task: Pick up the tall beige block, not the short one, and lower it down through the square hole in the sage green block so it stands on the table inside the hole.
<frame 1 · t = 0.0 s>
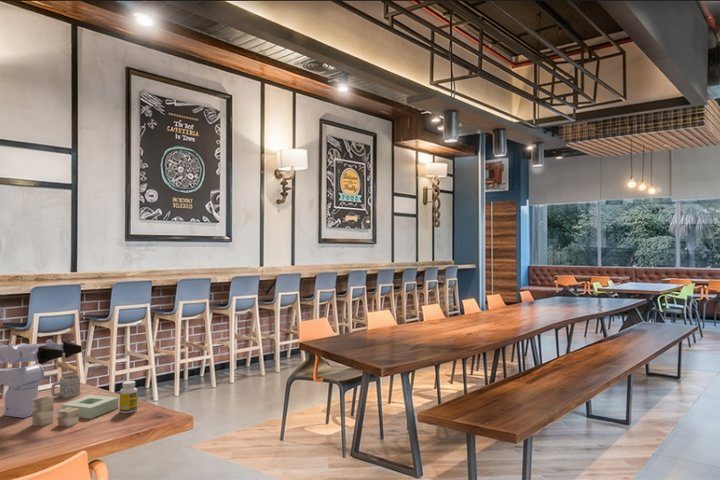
hand: (71, 351, 171), 22 cm above the table, tool horizontal, fingers open, 7 cm apart
tall beige block: (42, 423, 167), on the table
mug: (65, 396, 197), on the table
short pin: (68, 424, 167), on the table
hole block: (90, 411, 179), on the table
supplement bottle: (128, 411, 179), on the table
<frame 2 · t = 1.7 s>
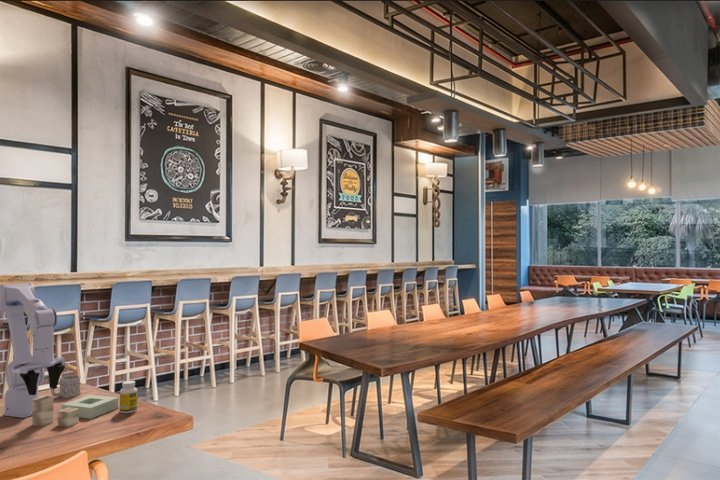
hand: (43, 391, 167), 10 cm above the table, tool pointing down, fingers open, 7 cm apart
nothing on the table moved.
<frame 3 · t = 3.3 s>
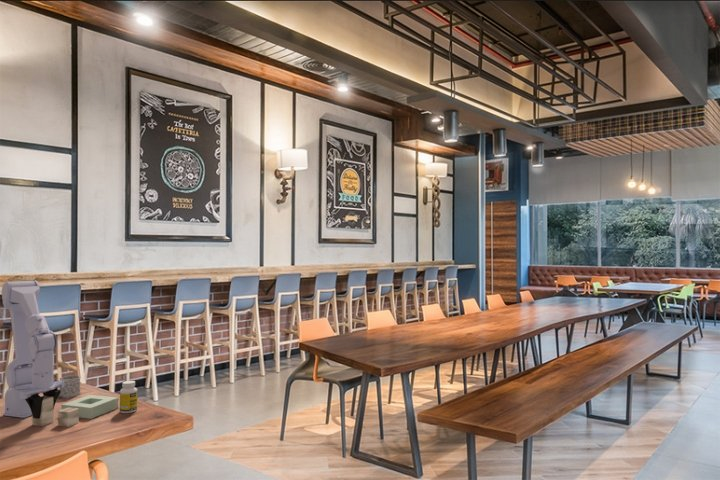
hand: (42, 415, 167), 2 cm above the table, tool pointing down, fingers closed on tall beige block, 4 cm apart
tall beige block: (42, 423, 167), on the table, touching gripper
everything else where it was.
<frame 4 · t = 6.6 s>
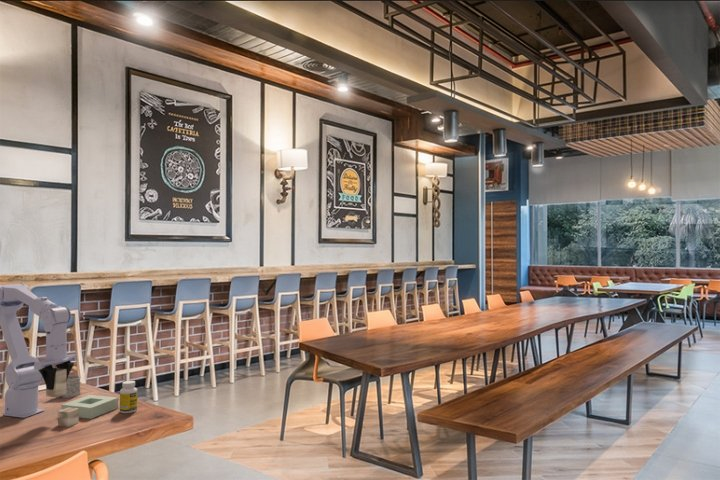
hand: (56, 387, 170), 10 cm above the table, tool pointing down, fingers closed on tall beige block, 4 cm apart
tall beige block: (56, 395, 170), point 8 cm above the table, touching gripper
everything else where it was.
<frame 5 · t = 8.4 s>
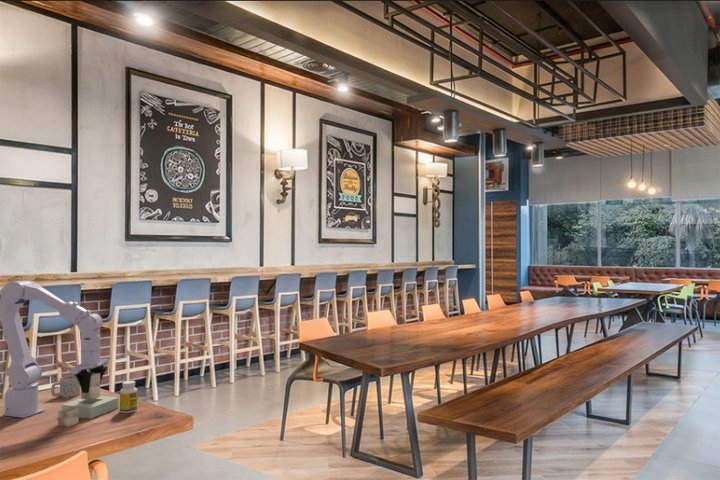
hand: (90, 390, 179), 7 cm above the table, tool pointing down, fingers closed on tall beige block, 4 cm apart
tall beige block: (90, 397, 179), point 5 cm above the table, touching gripper
everything else where it was.
when the fingers open (4 cm above the table, at t = 9.8 s): tall beige block drops 2 cm, resting in hole block.
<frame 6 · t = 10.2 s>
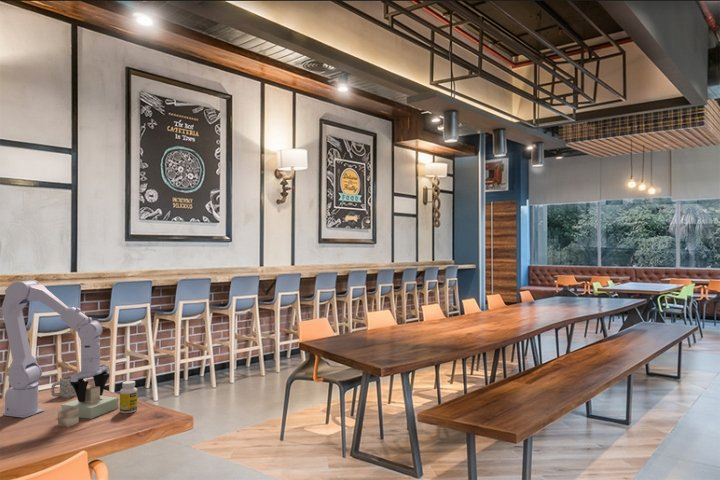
hand: (90, 398, 179), 4 cm above the table, tool pointing down, fingers open, 7 cm apart
tall beige block: (90, 411, 179), resting in hole block
everything else where it was.
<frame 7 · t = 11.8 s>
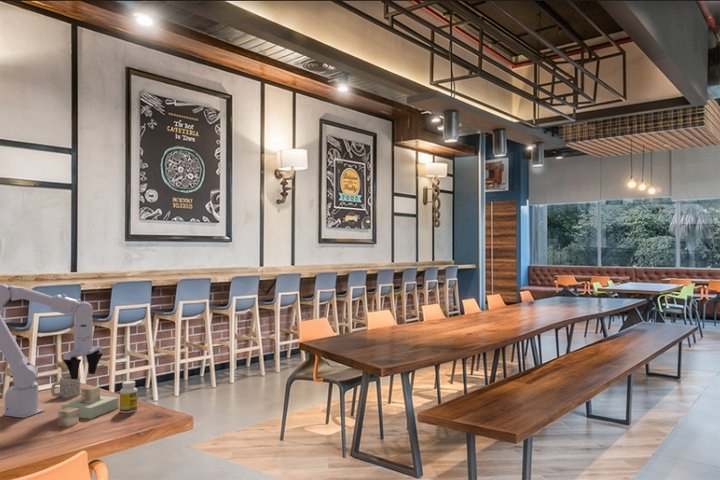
hand: (83, 376, 185), 10 cm above the table, tool pointing down, fingers open, 7 cm apart
nothing on the table moved.
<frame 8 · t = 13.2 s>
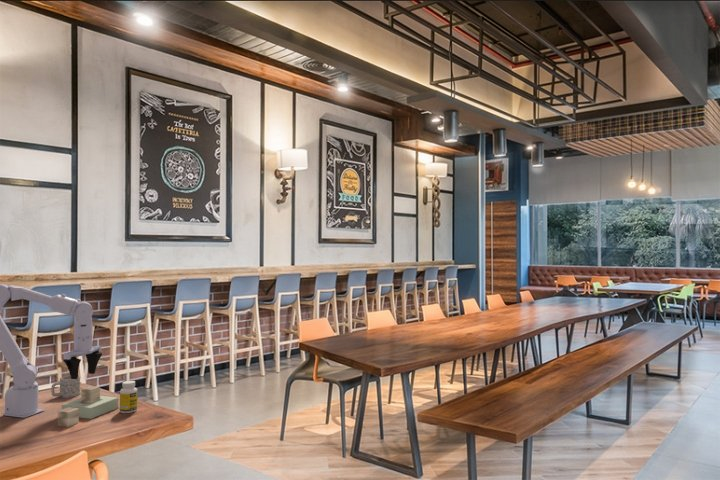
hand: (83, 376, 185), 10 cm above the table, tool pointing down, fingers open, 7 cm apart
nothing on the table moved.
at the end: tall beige block 0.1 cm off-centre on the hole block, point 0.0 cm above the hole block's base; tall beige block tilted 0°; short pin moved 0.1 cm from its start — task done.
